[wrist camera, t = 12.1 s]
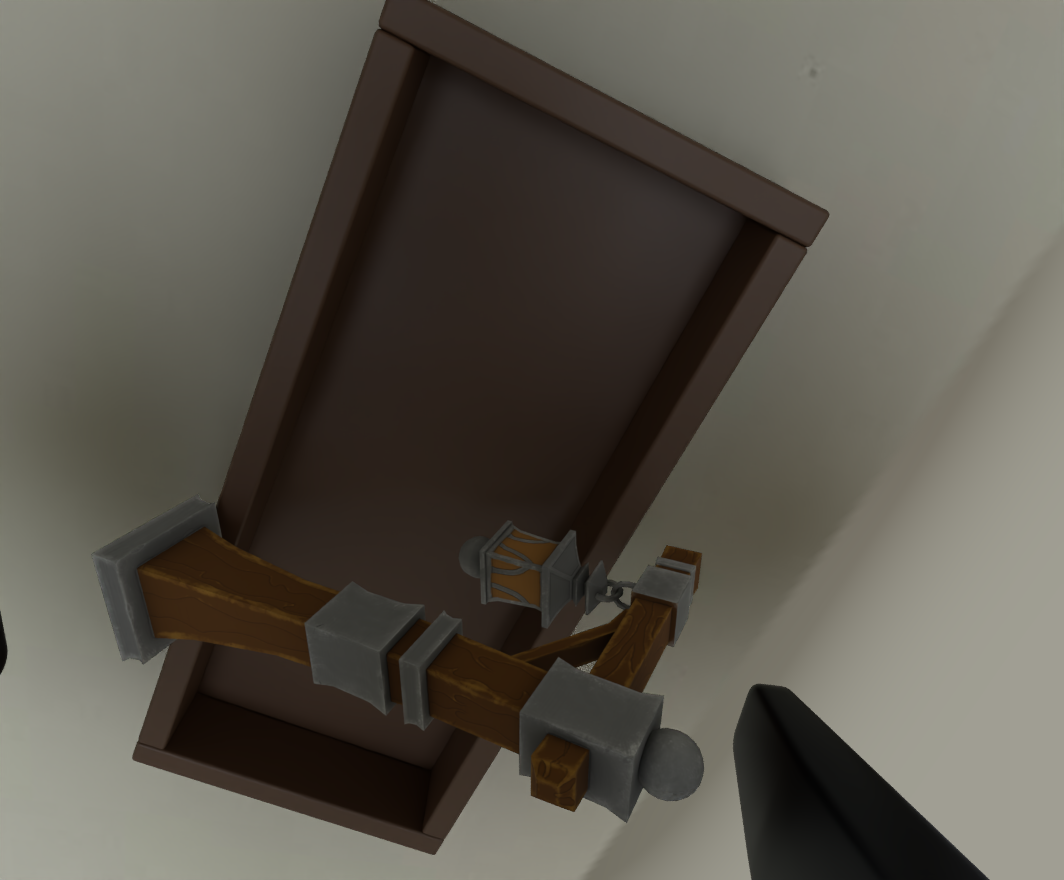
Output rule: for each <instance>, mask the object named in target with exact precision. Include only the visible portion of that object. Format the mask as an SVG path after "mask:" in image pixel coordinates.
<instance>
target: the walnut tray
mask: <svg viewBox="0 0 1064 880" xmlns="http://www.w3.org/2000/svg"><path fill="white" fill-rule="evenodd" d="M379 27H380V28H381V29H377V30H376V32H375V34H374V37H373V40H372V43H371V46H370V49H369V52H368V55H367V58H366V61H365V63H364V66H363V69H362V72H361V75H360V78H359V81H358V84H357V87H356V90H355V93H354V96H353V99H352V102H351V105H350V108H349V111H348V114H347V117H346V120H345V123H344V126H343V129H342V132H341V135H340V138H339V141H338V144H337V147H336V150H335V153H334V156H333V159H332V162H331V165H330V168H329V171H328V174H327V177H326V180H325V183H324V186H323V189H322V192H321V195H320V198H319V201H318V204H317V207H316V210H315V213H314V216H313V219H312V222H311V225H310V228H309V231H308V234H307V237H306V240H305V243H304V246H303V249H302V252H301V255H300V258H299V261H298V264H297V267H296V270H295V273H294V275H293V278H292V281H291V284H290V287H289V290H288V293H287V296H286V299H285V302H284V305H283V308H282V311H281V314H280V317H279V320H278V323H277V326H276V329H275V332H274V335H273V338H272V341H271V344H270V347H269V350H268V353H267V356H266V359H265V362H264V365H263V368H262V371H261V374H260V377H259V380H258V383H257V386H256V389H255V392H254V395H253V398H252V401H251V404H250V407H249V410H248V413H247V416H246V419H245V422H244V425H243V428H242V431H241V434H240V437H239V440H238V443H237V446H236V449H235V452H234V455H233V458H232V461H231V464H230V467H229V470H228V473H227V476H226V479H225V482H224V485H223V488H222V490H221V493H220V496H219V499H218V502H217V505H216V510H217V515H218V520H219V525H220V530H221V535H222V538H223V539H224V540H226V541H228V542H229V543H231V544H232V545H234V546H235V547H237V548H240V549H242V550H244V551H246V552H248V553H250V554H252V555H254V556H256V557H258V558H260V559H263V560H265V561H267V562H269V563H271V564H273V565H275V566H277V567H279V568H281V569H283V570H285V571H288V572H290V573H292V574H294V575H296V576H298V577H300V578H302V579H304V580H307V581H310V582H313V583H316V584H319V585H322V586H325V587H328V588H331V589H334V590H337V591H340V592H341V591H342V590H343V589H344V588H345V587H346V586H347V585H349V584H350V583H351V582H352V581H353V582H354V583H356V584H357V585H359V586H360V587H362V588H363V589H365V590H366V591H368V592H371V593H374V594H377V595H380V596H383V597H386V598H389V599H392V600H395V601H398V602H401V603H405V604H420V605H424V606H425V620H426V621H427V622H430V623H433V622H434V621H435V620H436V619H437V618H438V617H439V615H440V614H441V613H442V612H443V611H445V612H446V614H447V615H449V616H451V617H452V618H458V619H462V630H463V636H465V637H467V638H469V639H472V640H474V641H477V642H479V643H481V644H484V645H486V646H489V647H491V648H493V649H496V650H498V651H500V652H503V653H505V654H508V655H510V656H512V655H515V654H518V653H521V652H524V651H527V650H530V649H533V648H536V647H539V646H542V645H545V644H548V643H551V642H554V641H557V640H560V639H563V638H566V637H569V636H570V635H571V634H572V632H573V631H574V629H575V627H576V626H577V624H578V622H579V621H580V619H581V618H582V616H583V614H584V613H585V596H584V595H583V597H582V598H581V600H580V601H579V603H578V604H577V606H575V604H574V602H573V599H572V600H571V601H569V602H568V603H567V604H566V605H565V606H564V607H563V608H562V609H561V611H560V612H559V613H558V614H557V615H556V617H555V618H554V620H553V621H552V623H551V624H550V626H549V627H548V629H547V628H544V627H542V612H541V611H539V610H538V609H536V608H531V607H526V606H522V605H517V604H512V603H507V602H502V601H492V602H488V603H487V604H486V605H485V604H482V603H481V582H480V578H475V577H472V576H470V575H468V574H467V573H466V572H464V571H463V569H462V568H461V566H460V562H459V552H460V549H461V547H462V546H463V544H464V543H465V542H466V541H468V540H469V539H471V538H473V537H477V536H483V537H486V538H489V539H491V538H492V537H493V536H494V535H495V534H496V533H497V531H498V530H499V529H500V528H501V527H502V526H503V525H504V524H505V523H506V522H507V521H508V520H509V521H512V525H514V526H515V527H517V528H518V529H520V530H521V531H524V532H527V533H530V534H533V535H536V536H539V537H542V538H545V539H549V540H552V541H555V542H561V541H562V540H563V538H564V537H565V536H566V535H567V533H568V532H569V531H570V530H573V531H576V546H577V552H578V557H579V561H580V564H581V567H582V566H584V565H585V564H587V563H588V564H589V575H590V576H591V574H592V573H593V571H594V569H595V568H596V567H597V565H598V564H599V562H600V561H603V564H604V568H605V572H606V576H607V575H608V574H609V572H610V571H611V569H612V567H613V566H614V564H615V562H616V561H617V559H618V558H619V556H620V554H621V553H622V551H623V550H624V548H625V546H626V545H627V543H628V541H629V540H630V538H631V537H632V535H633V533H634V532H635V530H636V528H637V527H638V525H639V524H640V522H641V520H642V519H643V517H644V516H645V514H646V512H647V511H648V509H649V507H650V506H651V504H652V503H653V501H654V499H655V498H656V496H657V494H658V493H659V491H660V490H661V488H662V486H663V485H664V483H665V481H666V480H667V478H668V477H669V475H670V473H671V472H672V470H673V469H674V467H675V465H676V464H677V462H678V460H679V459H680V457H681V456H682V454H683V452H684V451H685V449H686V447H687V446H688V444H689V443H690V441H691V439H692V438H693V436H694V435H695V433H696V431H697V430H698V428H699V426H700V425H701V423H702V422H703V420H704V418H705V417H706V415H707V413H708V412H709V410H710V409H711V407H712V405H713V404H714V402H715V400H716V399H717V397H718V396H719V394H720V392H721V391H722V389H723V388H724V386H725V384H726V383H727V381H728V379H729V378H730V376H731V375H732V373H733V371H734V370H735V368H736V366H737V365H738V363H739V362H740V360H741V358H742V357H743V355H744V354H745V352H746V350H747V349H748V347H749V345H750V344H751V342H752V341H753V339H754V337H755V336H756V334H757V332H758V331H759V329H760V328H761V326H762V324H763V323H764V321H765V319H766V318H767V316H768V315H769V313H770V311H771V310H772V308H773V307H774V305H775V303H776V302H777V300H778V298H779V297H780V295H781V294H782V292H783V290H784V289H785V287H786V285H787V284H788V282H789V281H790V279H791V277H792V276H793V274H794V273H795V271H796V269H797V268H798V266H799V264H800V263H801V261H802V260H803V258H804V256H805V255H806V253H807V249H806V247H810V246H811V245H812V243H813V242H814V240H815V239H816V237H817V235H818V234H819V232H820V230H821V229H822V227H823V226H824V224H825V222H826V221H827V219H828V217H829V213H828V211H827V210H825V209H823V208H821V207H819V206H817V205H815V204H813V203H811V202H810V201H808V200H806V199H804V198H802V197H800V196H798V195H796V194H794V193H792V192H791V191H789V190H787V189H785V188H783V187H781V186H779V185H777V184H775V183H773V182H772V181H770V180H768V179H766V178H764V177H762V176H760V175H758V174H756V173H755V172H753V171H751V170H749V169H747V168H745V167H743V166H741V165H739V164H737V163H736V162H734V161H732V160H730V159H728V158H726V157H724V156H722V155H720V154H718V153H717V152H715V151H713V150H711V149H709V148H707V147H705V146H703V145H701V144H699V143H698V142H696V141H694V140H692V139H690V138H688V137H686V136H684V135H682V134H680V133H679V132H677V131H675V130H673V129H671V128H669V127H667V126H665V125H663V124H662V123H660V122H658V121H656V120H654V119H652V118H650V117H648V116H646V115H644V114H643V113H641V112H639V111H637V110H635V109H633V108H631V107H629V106H627V105H625V104H624V103H622V102H620V101H618V100H616V99H614V98H612V97H610V96H608V95H606V94H605V93H603V92H601V91H599V90H597V89H595V88H593V87H591V86H589V85H587V84H586V83H584V82H582V81H580V80H578V79H576V78H574V77H572V76H570V75H569V74H567V73H565V72H563V71H561V70H559V69H557V68H555V67H553V66H551V65H550V64H548V63H546V62H544V61H542V60H540V59H538V58H536V57H534V56H532V55H531V54H529V53H527V52H525V51H523V50H521V49H519V48H517V47H515V46H513V45H512V44H510V43H508V42H506V41H504V40H502V39H500V38H498V37H496V36H494V35H493V34H491V33H489V32H487V31H485V30H483V29H481V28H479V27H477V26H476V25H474V24H472V23H470V22H468V21H466V20H464V19H462V18H460V17H458V16H457V15H455V14H453V13H451V12H449V11H447V10H445V9H443V8H441V7H439V6H438V5H436V4H434V3H432V2H430V1H428V0H386V1H385V4H384V7H383V10H382V13H381V16H380V19H379ZM500 749H501V746H499V745H496V744H494V743H492V742H489V741H487V740H485V739H482V738H480V737H478V736H475V735H473V734H471V733H468V732H466V731H464V730H461V729H459V728H457V727H454V726H452V725H450V724H447V723H445V722H443V721H440V720H438V719H436V718H434V719H433V720H432V721H431V723H430V724H429V725H428V726H427V728H426V729H425V730H424V731H423V730H422V729H421V728H420V727H418V726H417V725H415V724H411V723H408V724H404V713H403V705H400V704H396V705H395V706H394V707H393V708H392V709H391V711H390V712H389V713H388V714H387V715H385V714H383V713H382V712H381V711H380V710H378V709H377V708H376V707H375V706H373V705H372V704H371V703H370V702H368V701H365V700H363V699H361V698H359V697H356V696H354V695H352V694H350V693H347V692H345V691H343V690H340V689H338V688H336V687H334V686H328V685H321V684H314V681H313V675H312V668H311V667H309V666H306V665H303V664H300V663H297V662H294V661H291V660H288V659H285V658H282V657H279V656H276V655H272V654H266V653H261V652H256V651H250V650H245V649H240V648H235V647H229V646H224V645H219V644H214V643H208V642H203V641H198V640H186V639H177V640H175V641H174V642H173V643H171V644H170V646H169V649H168V652H167V655H166V658H165V661H164V664H163V667H162V670H161V673H160V676H159V679H158V682H157V685H156V688H155V691H154V694H153V697H152V700H151V702H150V705H149V708H148V711H147V714H146V717H145V720H144V723H143V726H142V729H141V732H140V735H139V740H138V742H137V744H136V747H135V750H134V753H133V757H132V759H133V760H134V761H137V762H140V763H143V764H147V765H150V766H153V767H156V768H159V769H162V770H166V771H169V772H172V773H175V774H178V775H181V776H185V777H188V778H191V779H194V780H197V781H200V782H204V783H207V784H210V785H213V786H216V787H219V788H223V789H226V790H229V791H232V792H235V793H238V794H242V795H245V796H248V797H251V798H254V799H257V800H261V801H264V802H267V803H270V804H273V805H276V806H280V807H283V808H286V809H289V810H292V811H295V812H299V813H302V814H305V815H308V816H311V817H314V818H318V819H321V820H324V821H327V822H330V823H333V824H337V825H340V826H343V827H346V828H349V829H352V830H356V831H359V832H362V833H365V834H368V835H371V836H375V837H378V838H381V839H384V840H387V841H390V842H394V843H397V844H400V845H403V846H406V847H409V848H413V849H416V850H419V851H422V852H425V853H428V854H432V855H435V854H436V852H437V851H438V849H439V848H440V846H441V844H442V843H443V841H444V839H445V838H446V836H447V835H448V833H449V831H450V830H451V828H452V827H453V825H454V823H455V822H456V820H457V818H458V817H459V815H460V814H461V812H462V810H463V809H464V807H465V805H466V804H467V802H468V801H469V799H470V797H471V796H472V794H473V792H474V791H475V789H476V788H477V786H478V784H479V783H480V781H481V780H482V778H483V776H484V775H485V773H486V771H487V770H488V768H489V767H490V765H491V763H492V762H493V760H494V758H495V757H496V755H497V754H498V752H499V750H500Z"/></svg>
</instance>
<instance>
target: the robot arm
mask: <svg viewBox="0 0 1064 880" xmlns="http://www.w3.org/2000/svg"><path fill="white" fill-rule="evenodd" d="M7 652H8V650H7V643H6V638H5V633H4V627H3V622H2V617H1V612H0V674H1V672H2V671H3V669H4V666H5V663H6V660H7ZM733 752H734V760H735V767H736V775H737V782H738V788H739V796H740V804H741V811H742V818H743V825H744V833H745V840H746V847H747V854H748V861H749V867H750V873H751V879H752V880H989V879H988V878H987V877H986V876H985V875H984V874H983V873H982V872H981V871H980V870H979V869H978V868H977V867H976V866H975V865H974V864H973V863H971V862H970V861H969V860H968V859H967V858H966V857H965V856H964V855H963V854H962V853H961V852H960V851H959V850H958V849H957V848H956V847H955V846H954V845H953V844H952V843H950V842H949V841H948V840H947V839H946V838H945V837H944V836H943V835H942V834H941V833H940V832H939V831H938V830H937V829H936V828H935V827H934V826H933V825H932V824H931V823H929V822H928V821H927V820H926V819H925V818H924V817H923V816H922V815H921V814H920V813H919V812H918V811H917V810H916V809H915V808H914V807H913V806H911V804H909V803H908V802H907V801H906V800H905V799H904V798H903V797H902V796H901V795H900V794H899V793H898V792H897V791H896V790H895V789H894V788H893V787H892V786H891V785H890V784H888V783H887V782H886V781H885V780H884V779H883V778H882V777H881V776H880V775H879V774H878V773H877V772H876V771H875V770H874V769H873V768H872V767H870V765H868V764H867V763H866V762H865V761H864V760H863V759H862V758H861V757H860V756H859V755H858V754H857V753H856V752H855V751H854V750H853V749H852V748H851V747H850V746H849V745H847V744H846V743H845V742H844V741H843V740H842V739H841V738H840V737H839V736H838V735H837V734H836V733H835V732H834V731H833V730H832V729H831V728H830V727H829V726H828V725H826V724H825V723H824V722H823V721H822V720H821V719H820V718H819V717H818V716H817V715H816V714H815V713H814V712H813V711H812V710H811V709H810V708H809V707H807V706H806V705H805V704H804V703H803V702H802V701H801V700H800V699H799V698H798V697H797V696H796V695H795V694H794V693H793V692H792V691H790V690H789V689H787V688H786V687H782V686H775V685H766V684H756V685H753V686H752V687H751V689H750V690H749V693H748V695H747V698H746V701H745V703H744V707H743V709H742V712H741V715H740V718H739V721H738V724H737V727H736V730H735V733H734V740H733Z"/></svg>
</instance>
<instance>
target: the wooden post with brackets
mask: <svg viewBox="0 0 1064 880" xmlns="http://www.w3.org/2000/svg"><path fill="white" fill-rule="evenodd" d="M91 555H92V559H93V562H94V566H95V569H96V572H97V576H98V579H99V583H100V586H101V590H102V593H103V596H104V600H105V603H106V607H107V610H108V614H109V617H110V620H111V624H112V627H113V631H114V634H115V638H116V641H117V644H118V648H119V651H120V655H121V658H122V661H125V660H127V659H129V658H131V659H137V660H140V661H141V662H142V664H144V663H146V662H147V661H148V660H150V659H151V658H153V657H154V656H155V655H157V654H158V653H159V652H161V651H162V650H163V649H165V648H166V647H167V646H169V645H170V644H171V643H173V642H174V641H175V640H177V639H186V640H198V641H203V642H208V643H214V644H219V645H224V646H229V647H235V648H240V649H245V650H250V651H256V652H261V653H266V654H272V655H276V656H279V657H282V658H285V659H288V660H291V661H294V662H297V663H300V664H303V665H306V666H309V667H311V668H312V675H313V681H314V684H321V685H328V686H334V687H336V688H338V689H340V690H343V691H345V692H347V693H350V694H352V695H354V696H356V697H359V698H361V699H363V700H365V701H368V702H370V703H371V704H372V705H373V706H375V707H376V708H377V709H378V710H380V711H381V712H382V713H383V714H385V715H387V714H388V713H389V712H390V711H391V709H392V708H393V707H394V706H395V705H396V704H400V705H403V713H404V724H408V723H411V724H415V725H417V726H418V727H420V728H421V729H422V730H423V731H424V730H425V729H426V728H427V726H428V725H429V724H430V723H431V721H432V720H433V719H434V718H436V719H438V720H440V721H443V722H445V723H447V724H450V725H452V726H454V727H457V728H459V729H461V730H464V731H466V732H468V733H471V734H473V735H475V736H478V737H480V738H482V739H485V740H487V741H489V742H492V743H494V744H496V745H499V746H501V747H503V748H506V749H508V750H510V751H513V752H515V753H517V754H519V775H523V776H529V777H531V796H533V797H536V798H538V799H541V800H543V801H546V802H548V803H551V804H554V805H556V806H559V807H561V808H564V809H567V810H570V811H572V812H575V810H576V808H577V807H578V805H579V803H580V802H581V800H582V798H585V799H588V800H590V801H592V802H594V803H597V804H599V805H601V806H603V807H606V808H607V809H608V810H610V811H611V812H612V813H614V814H615V815H616V816H618V817H619V818H620V819H622V820H623V821H624V822H626V823H627V821H628V819H629V817H630V815H631V813H632V810H633V808H634V806H635V804H636V802H637V800H638V797H639V795H640V793H641V791H642V789H643V788H644V789H645V790H646V791H647V792H648V793H649V794H651V795H653V796H654V797H656V798H658V799H662V800H665V801H678V800H681V799H684V798H687V797H689V796H690V795H691V794H693V793H694V792H695V791H696V789H697V788H698V787H699V785H700V783H701V780H702V777H703V772H704V763H703V757H702V754H701V752H700V749H699V747H698V746H697V745H696V743H695V742H694V741H693V740H692V739H691V738H690V737H689V736H688V735H686V734H684V733H682V732H680V731H678V730H674V729H669V728H661V729H660V725H661V716H662V708H663V699H664V696H662V695H655V694H647V693H642V692H643V690H644V688H645V686H646V684H647V683H648V681H649V679H650V677H651V675H652V673H653V671H654V669H655V667H656V665H657V663H658V661H659V659H660V657H661V655H662V653H663V651H664V649H665V648H666V646H667V645H668V646H671V647H674V645H675V643H676V641H677V639H678V637H679V635H680V633H681V631H682V629H683V627H684V625H685V623H686V621H687V619H688V614H689V606H690V605H691V603H692V598H693V595H694V593H695V592H696V590H697V589H698V583H699V575H700V566H701V557H702V553H698V552H694V551H690V550H686V549H681V548H677V547H673V546H668V545H666V547H665V549H664V552H663V554H662V556H661V557H657V560H656V564H655V567H654V566H650V565H648V566H647V568H646V569H645V571H644V572H643V574H642V576H641V577H640V579H639V580H638V582H637V583H633V582H625V581H620V582H618V583H617V582H615V581H613V580H607V576H606V572H605V568H604V564H603V561H600V562H599V564H598V565H597V567H596V568H595V569H594V571H593V573H592V574H591V576H590V575H589V564H588V563H587V564H585V565H584V566H582V567H581V564H580V561H579V557H578V552H577V546H576V531H573V530H570V531H569V532H568V533H567V535H566V536H565V537H564V538H563V540H562V541H561V542H555V541H552V540H549V539H545V538H542V537H539V536H536V535H533V534H530V533H527V532H524V531H521V530H520V529H518V528H517V527H515V526H514V525H512V521H509V520H508V521H507V522H506V523H505V524H504V525H503V526H502V527H501V528H500V529H499V530H498V531H497V533H496V534H495V535H494V536H493V537H492V538H491V539H489V538H486V537H483V536H477V537H473V538H471V539H469V540H468V541H466V542H465V543H464V544H463V546H462V547H461V549H460V552H459V562H460V566H461V568H462V569H463V571H464V572H466V573H467V574H468V575H470V576H472V577H475V578H480V582H481V603H482V604H485V605H486V604H487V603H488V602H492V601H502V602H507V603H512V604H517V605H522V606H526V607H531V608H536V609H538V610H539V611H541V612H542V627H544V628H547V629H548V627H549V626H550V624H551V623H552V621H553V620H554V618H555V617H556V615H557V614H558V613H559V612H560V611H561V609H562V608H563V607H564V606H565V605H566V604H567V603H568V602H569V601H571V600H572V599H573V602H574V604H575V606H577V604H578V603H579V601H580V600H581V598H582V597H583V595H584V596H585V612H586V615H588V614H589V613H590V612H591V611H592V610H593V609H594V608H595V607H596V606H597V605H598V604H599V603H600V602H613V601H614V603H615V604H616V605H617V606H618V607H619V608H621V609H623V611H622V612H621V613H620V614H619V615H618V616H616V617H615V618H614V619H613V620H612V621H611V622H610V623H608V624H605V625H602V626H599V627H596V628H593V629H590V630H587V631H584V632H581V633H578V634H575V635H572V636H569V637H566V638H563V639H560V640H557V641H554V642H551V643H548V644H545V645H542V646H539V647H536V648H533V649H530V650H527V651H524V652H521V653H518V654H515V655H512V656H510V655H508V654H505V653H503V652H500V651H498V650H496V649H493V648H491V647H489V646H486V645H484V644H481V643H479V642H477V641H474V640H472V639H469V638H467V637H465V636H463V630H462V619H458V618H452V617H451V616H449V615H447V614H446V612H445V611H443V612H442V613H441V614H440V615H439V617H438V618H437V619H436V620H435V621H434V622H433V623H430V622H427V621H426V620H425V606H424V605H420V604H405V603H401V602H398V601H395V600H392V599H389V598H386V597H383V596H380V595H377V594H374V593H371V592H368V591H366V590H365V589H363V588H362V587H360V586H359V585H357V584H356V583H354V582H353V581H352V582H351V583H350V584H349V585H347V586H346V587H345V588H344V589H343V590H342V591H341V592H340V591H337V590H334V589H331V588H328V587H325V586H322V585H319V584H316V583H313V582H310V581H307V580H304V579H302V578H300V577H298V576H296V575H294V574H292V573H290V572H288V571H285V570H283V569H281V568H279V567H277V566H275V565H273V564H271V563H269V562H267V561H265V560H263V559H260V558H258V557H256V556H254V555H252V554H250V553H248V552H246V551H244V550H242V549H240V548H237V547H235V546H234V545H232V544H231V543H229V542H228V541H226V540H224V539H223V538H222V535H221V530H220V525H219V520H218V515H217V510H216V505H215V503H210V504H209V503H207V502H205V501H203V500H201V498H200V496H199V494H197V495H195V496H193V497H191V498H190V499H188V500H186V501H184V502H183V503H181V504H179V505H177V506H175V507H174V508H172V509H170V510H168V511H167V512H165V513H163V514H161V515H160V516H158V517H156V518H154V519H152V520H151V521H149V522H147V523H145V524H144V525H142V526H140V527H138V528H136V529H135V530H133V531H131V532H129V533H128V534H126V535H124V536H122V537H121V538H119V539H117V540H115V541H113V542H112V543H110V544H108V545H106V546H105V547H103V548H101V549H99V550H97V551H96V552H94V553H92V554H91ZM607 586H611V587H612V590H611V596H605V595H606V593H607ZM622 587H628V588H632V589H633V590H632V591H631V605H630V606H629V605H626V604H624V603H622V602H621V601H620V600H619V598H620V597H621V596H622V595H623V588H622ZM596 660H597V662H596V663H595V665H594V667H593V668H592V670H591V671H590V673H586V672H583V671H581V670H578V669H576V667H579V666H582V665H585V664H588V663H590V662H593V661H596Z"/></svg>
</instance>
